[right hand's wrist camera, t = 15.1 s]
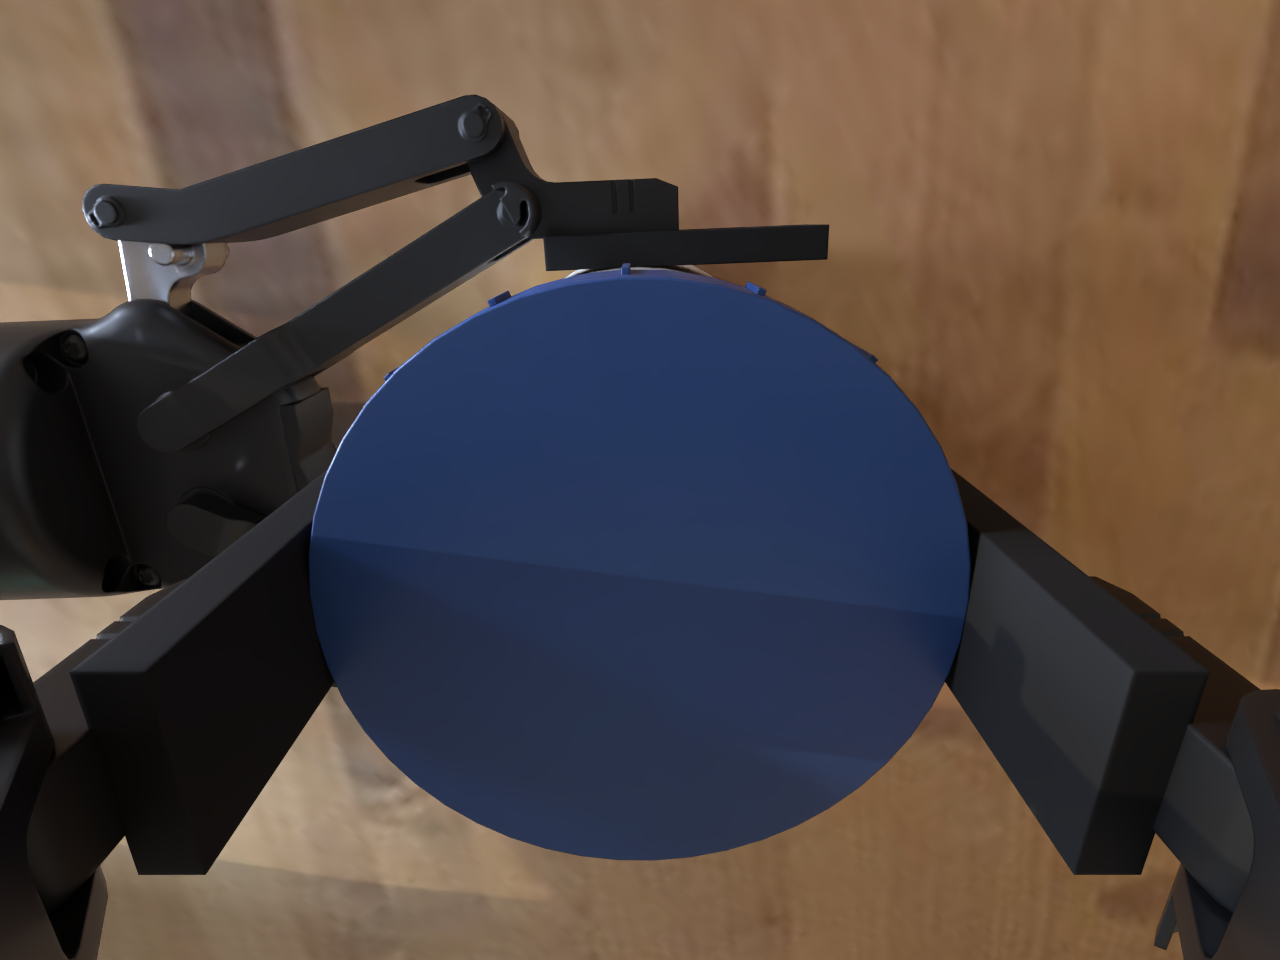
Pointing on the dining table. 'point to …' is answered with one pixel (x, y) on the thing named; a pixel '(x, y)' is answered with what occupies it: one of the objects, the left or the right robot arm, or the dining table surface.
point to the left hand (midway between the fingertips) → (805, 432)
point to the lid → (639, 566)
